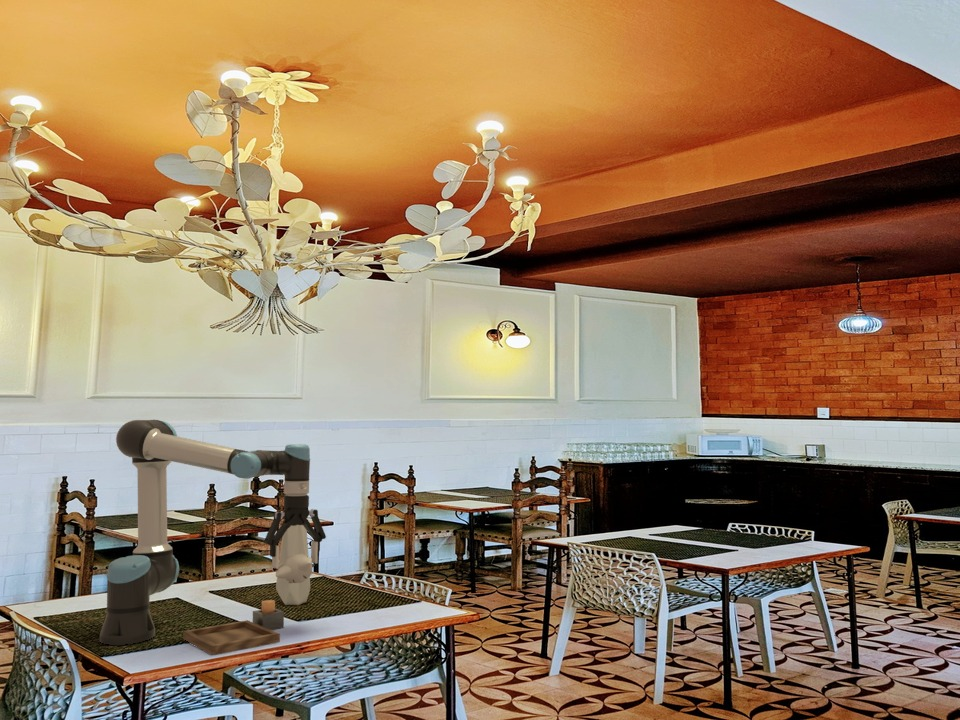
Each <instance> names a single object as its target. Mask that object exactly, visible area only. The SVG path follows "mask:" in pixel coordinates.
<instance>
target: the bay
mask: <svg viewBox="0 0 960 720" xmlns="http://www.w3.org/2000/svg"><path fill="white" fill-rule="evenodd" d="M183 639H184V640H183ZM182 640H183V641H185V640H186V641H188V642H190V643H191V645H192V644H193V645H192V646H194V645H195V646H194V647H196V646H197V647H196V648H198V649H200V650H202V651H203V652H206V653H207V654H209V655H211V656H216V655H222V654H226V653H231V652H236V651H241V650H246V649H247V650H248V649H252V648H257V647H262V646H267V645H272V644H277V643H281V633H280V632H277V631H275V630H270V629H267V628H265V627H263V626H260V625H258V624H255V623H253V621H250V620H247V619H246V620H241V621H236V622H235V621H234V622H230V623H224V624H223V623H222V624H218V625H212V626H206V627H200V628H196V629H195V628H194V629H189V630H184V631H182ZM186 641H185V642H186ZM188 642H187V643H188ZM190 643H189V644H190Z"/></svg>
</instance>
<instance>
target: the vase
mask: <svg viewBox="0 0 960 720" xmlns="http://www.w3.org/2000/svg"><path fill="white" fill-rule="evenodd" d="M293 554H304V555H306V556H307V557H309V547H308V531H307V530H306V529H305V527H304V526H303V525H296V526H290V527H289V528H288V529H287V531H286V532H285V534H284V535H283V536H282V538H281V545H280V550H279V565H280V564H282V563H284V561H285V560H286V559H287V558H288V557H289V556H290V555H293ZM281 567H282V566H281ZM278 569H279V568H278ZM278 569H277V570H278ZM310 577H311V575H310V576H309V577H308V578H307V579H306V580H305V581H303V582H301V583H289V581H287V580H286V579H285V578H278V577H276V582H275V583H276V584H275V590H276V593H278V595H279V597H280V600H281V601H282V602H283V604H284V606H299V605H302V604H305V603H306V602H307V600H308V597H309V594H310V590H311V578H310Z"/></svg>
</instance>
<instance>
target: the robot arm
mask: <svg viewBox="0 0 960 720" xmlns="http://www.w3.org/2000/svg"><path fill="white" fill-rule="evenodd" d="M115 440H116V441H115V442H116V446H117V448H118V450H119V451H120V453H122V454H123V455H125V456H126V457H128V458H131V459H132V460H131V463H132V465H133V466H134V467H136V469H137V470H136V471H137V546H136V548H134V549H133V551H132V555H127V556H125V557H119V558H116V559H114V560H112V561H111V562H110V563H109V564H108V566H107V567H108V568H107V574H106V579H107V580H106V581H107V585H106V586H107V587H106V589H107V590H106V593H107V594H106V616H105V617H104V618H105V619H104V621H103V624H102V626H101V630H100V633H99V643H100V642H101V643H100V644H102V643H104V644H103V645H105V644H109V645H108V646H126V645H125V644H128V645H134V644H133V643H136V644H138V643H137V642H141V643H143V642H142V641H145V640H148V641H150V640H152V639H154V638H155V637H154V636H156V628H155V624H154V622H153V618H152V615H151V611H150V599H151V598H150V596H153V595H155V594H157V593H161V592H163V591H165V590H167V589H169V588H170V587H171V586H172V585H174V584H175V582H176V581H177V579H178V576H179V573H180V565H179V561H178V559H177V558H176V557H175V555H174V554H173V551H174V550H173V546H171V544H169V543H168V503H167V502H168V499H167V498H168V497H167V496H168V491H167V483H168V482H167V467H168V466H169V465H170V464H171V463H172V462H173V463H178V464H183V465H188V466H192V467H197V468H202V469H207V470H211V471H212V470H213V471H216V472H220V473H225V474H231V475H234V476H235V477H237V478H239V479H247V480H248V479H249V480H250V479H252V478H256V477H261V476H284V484H283V485H284V487H283V493H284V497H283V508H284V509H283V511H282V512H279V511H275V512H274V513H273V520H272V522H271V525H270V526H269V529H268V531H267V533H266V536H265V537H264V540H263V543H264V544H265V545H268V546H269V556H270V557H271V558H272V559H271V567H272V568H274V569H276V568H279V559H280V546H279V545H278V544H279V542H280V541H281V540H282V536H283V535H284V534H285V532H286V531H287V529H288V528H289V527H290V526H296V525H303V526H304V527H305V529H306V530H307V534H309V536H310V537H311V538H312V539H313V540H311V543H310V552H311V553H310V558H312V562H311V563H312V564H318V553H319V552H320V551H321V542H322V541H323V540H325V539H327V535H326V533H325V531H324V528H323V525H322V523H321V521H320V518H319V512H318V509H315V508H312V509H310V510H309V506H310V496H309V495H308V494H309V493H310V469H311V468H310V467H311V466H310V464H311V463H310V462H311V458H310V457H311V456H310V455H311V454H310V453H311V452H310V446H309V445H307V444H300V443H299V444H298V443H297V444H291V443H290V444H286V445H285V447H284V450H267V449H266V450H262V449H256V450H250V451H248V450H245V449H244V450H243V449H237V448H235V447H229V446H226V445H225V446H224V445H218V444H214V443H209V442H204V441H201V440H196V439H191V438H186V437H180V436H178V434H177V431H176V430H175V428H174V427H173V426H172V425H171V424H170V423H169V422H168V421H167V422H166V421H165V420H159V419H133V420H130V421H128V422H127V421H126V422H125V423H124V424H123V425H122V426H121V427H119V429H118V431H117V434H116V437H115ZM309 516H310V519H311V522H312V523H313V526H314V527H313V526H312V524H311V523H310V520H309V519H308V517H309ZM283 518H284V520H283V521H282V522H281V520H282V519H283ZM280 523H281V526H280ZM279 526H280V527H279ZM314 528H315V529H314ZM153 637H154V638H153ZM151 638H152V639H151ZM149 639H150V640H149ZM145 642H146V641H145Z"/></svg>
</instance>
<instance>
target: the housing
mask: <svg viewBox="0 0 960 720" xmlns="http://www.w3.org/2000/svg"><path fill="white" fill-rule="evenodd" d="M284 621H285V612H284V611H283V610H281V609H278V608H276V607H275V612H272V613H266V614H264V613H262V609H258V610H253V611H252V622H253V623H255V624H258V625H260V626H263V627H265V628H267V629H270V630H272V631H275V630H280V629H284V628H285V625H284V624H285V622H284Z"/></svg>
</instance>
